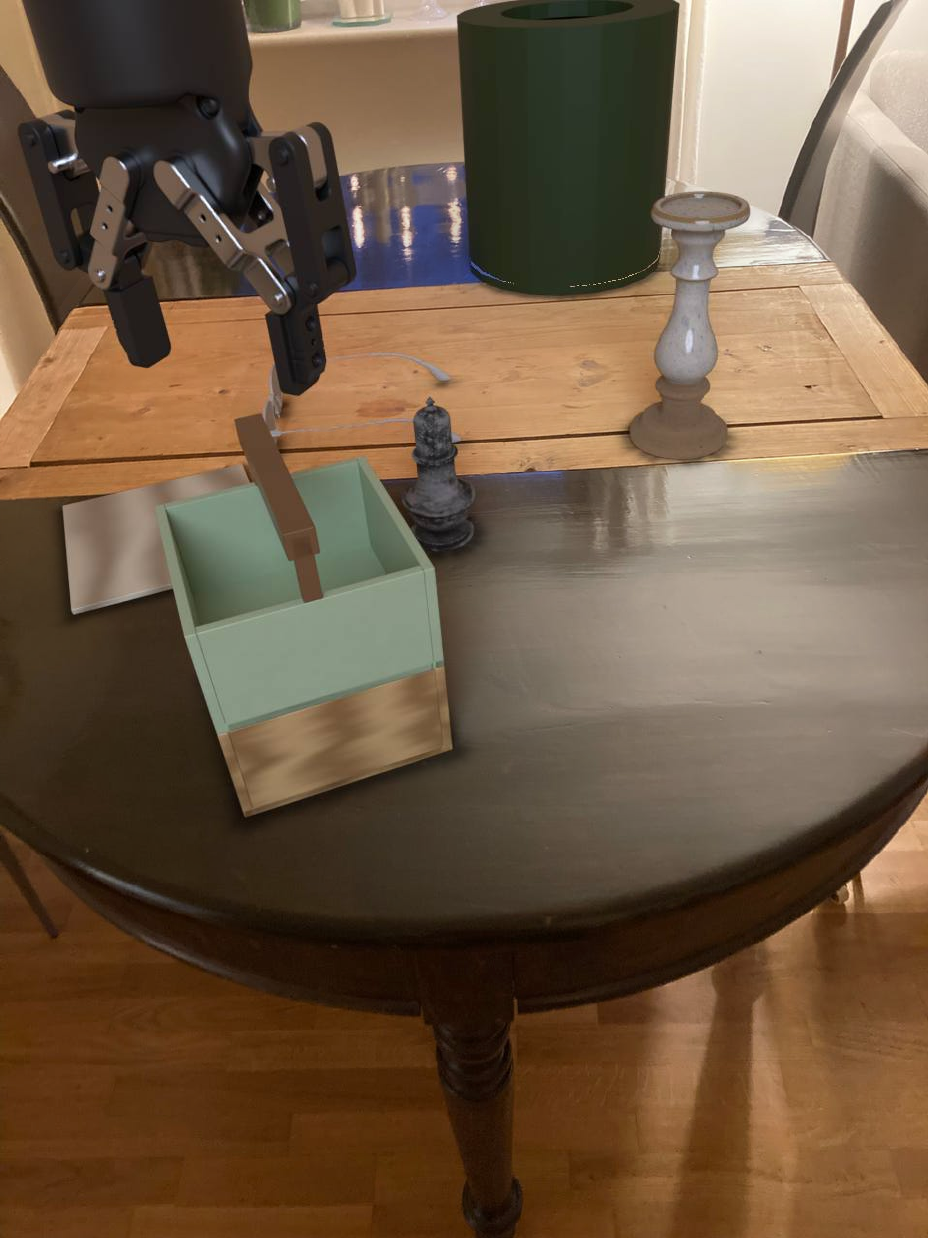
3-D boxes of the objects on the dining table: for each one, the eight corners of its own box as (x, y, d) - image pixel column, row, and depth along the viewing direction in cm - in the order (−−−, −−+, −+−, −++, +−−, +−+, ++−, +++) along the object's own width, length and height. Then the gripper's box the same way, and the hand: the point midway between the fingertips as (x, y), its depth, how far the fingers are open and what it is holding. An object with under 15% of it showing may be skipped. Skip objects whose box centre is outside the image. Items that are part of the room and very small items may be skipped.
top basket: (217, 736, 49) (160, 566, 42) (183, 598, 59) (132, 440, 52) (444, 666, 52) (428, 497, 45) (378, 546, 62) (355, 391, 55)
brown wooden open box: (245, 818, 54) (217, 736, 49) (209, 678, 63) (183, 598, 59) (452, 749, 57) (444, 666, 52) (389, 626, 66) (378, 546, 62)
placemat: (73, 615, 70) (71, 610, 69) (64, 510, 81) (62, 505, 81) (280, 560, 73) (279, 555, 73) (243, 467, 85) (242, 463, 85)
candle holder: (722, 465, 80) (755, 223, 68) (621, 455, 83) (635, 219, 70) (730, 418, 87) (762, 189, 74) (637, 410, 89) (652, 186, 76)
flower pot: (537, 311, 109) (535, 35, 92) (435, 255, 127) (417, 14, 109) (700, 264, 118) (728, 4, 100) (585, 217, 136) (591, -12, 118)
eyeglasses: (279, 392, 97) (272, 356, 94) (450, 376, 97) (447, 340, 95) (268, 466, 85) (260, 427, 82) (463, 447, 86) (460, 408, 83)
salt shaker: (394, 547, 74) (376, 410, 66) (422, 508, 78) (408, 375, 70) (463, 558, 72) (453, 420, 64) (487, 518, 76) (480, 383, 69)
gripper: (-112, -47, 32) (51, 386, 42) (216, -61, 27) (310, 438, 37) (48, -68, 37) (158, 324, 47) (350, -83, 32) (400, 361, 42)
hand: (225, 373), depth 42 cm, fingers open, 8 cm apart
